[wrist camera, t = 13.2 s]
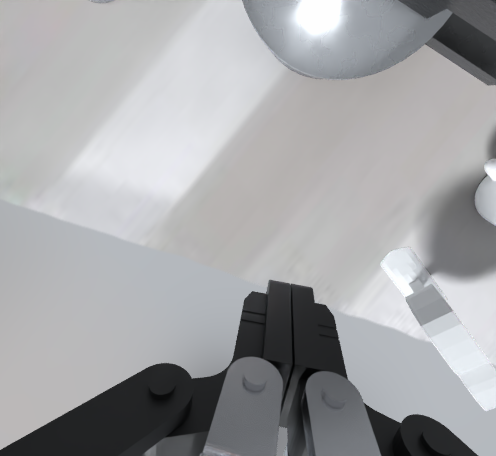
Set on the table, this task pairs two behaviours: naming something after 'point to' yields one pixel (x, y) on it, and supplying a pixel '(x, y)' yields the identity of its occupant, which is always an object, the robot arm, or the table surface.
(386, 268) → the heart sculpture
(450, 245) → the table surface
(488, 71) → the cooker pot
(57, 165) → the table surface
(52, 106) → the table surface
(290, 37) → the cooker lid
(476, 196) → the mug
